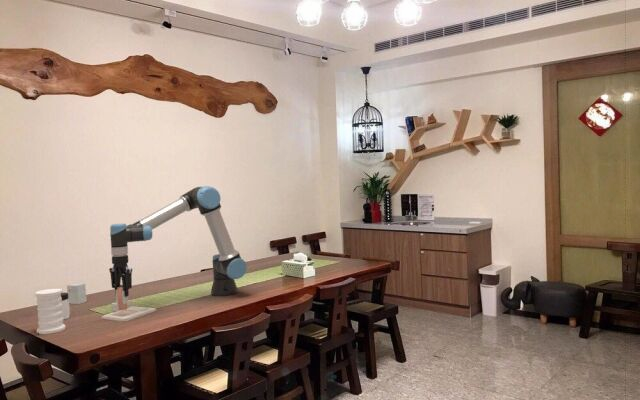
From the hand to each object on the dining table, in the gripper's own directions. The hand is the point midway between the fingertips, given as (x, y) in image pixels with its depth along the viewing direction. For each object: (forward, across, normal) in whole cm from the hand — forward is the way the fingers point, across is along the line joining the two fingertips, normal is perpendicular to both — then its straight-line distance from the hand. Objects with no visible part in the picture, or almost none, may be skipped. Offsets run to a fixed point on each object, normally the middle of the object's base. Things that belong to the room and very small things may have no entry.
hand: (122, 302), depth 248 cm
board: (+7, +1, -5) cm, 9 cm away
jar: (+8, +31, +11) cm, 34 cm away
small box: (+8, +52, -15) cm, 54 cm away
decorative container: (+8, +16, +27) cm, 32 cm away
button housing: (+7, +14, -12) cm, 20 cm away
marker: (+3, 0, 0) cm, 3 cm away
